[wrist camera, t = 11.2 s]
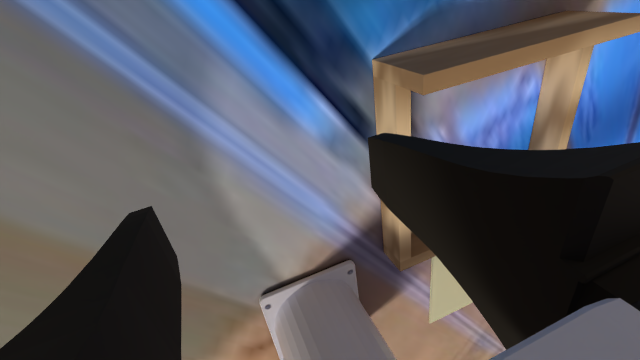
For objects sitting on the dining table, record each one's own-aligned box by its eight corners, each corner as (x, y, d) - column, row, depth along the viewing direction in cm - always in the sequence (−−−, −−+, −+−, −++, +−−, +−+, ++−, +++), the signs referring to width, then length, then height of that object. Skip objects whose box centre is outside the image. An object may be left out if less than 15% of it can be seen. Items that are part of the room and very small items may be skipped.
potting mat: (513, 280, 40) (515, 281, 40) (428, 322, 37) (430, 323, 37) (532, 197, 33) (534, 198, 33) (432, 240, 30) (433, 241, 30)
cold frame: (527, 192, 33) (578, 220, 29) (383, 252, 29) (419, 294, 25) (566, 10, 24) (646, 13, 20) (372, 59, 20) (423, 75, 16)
